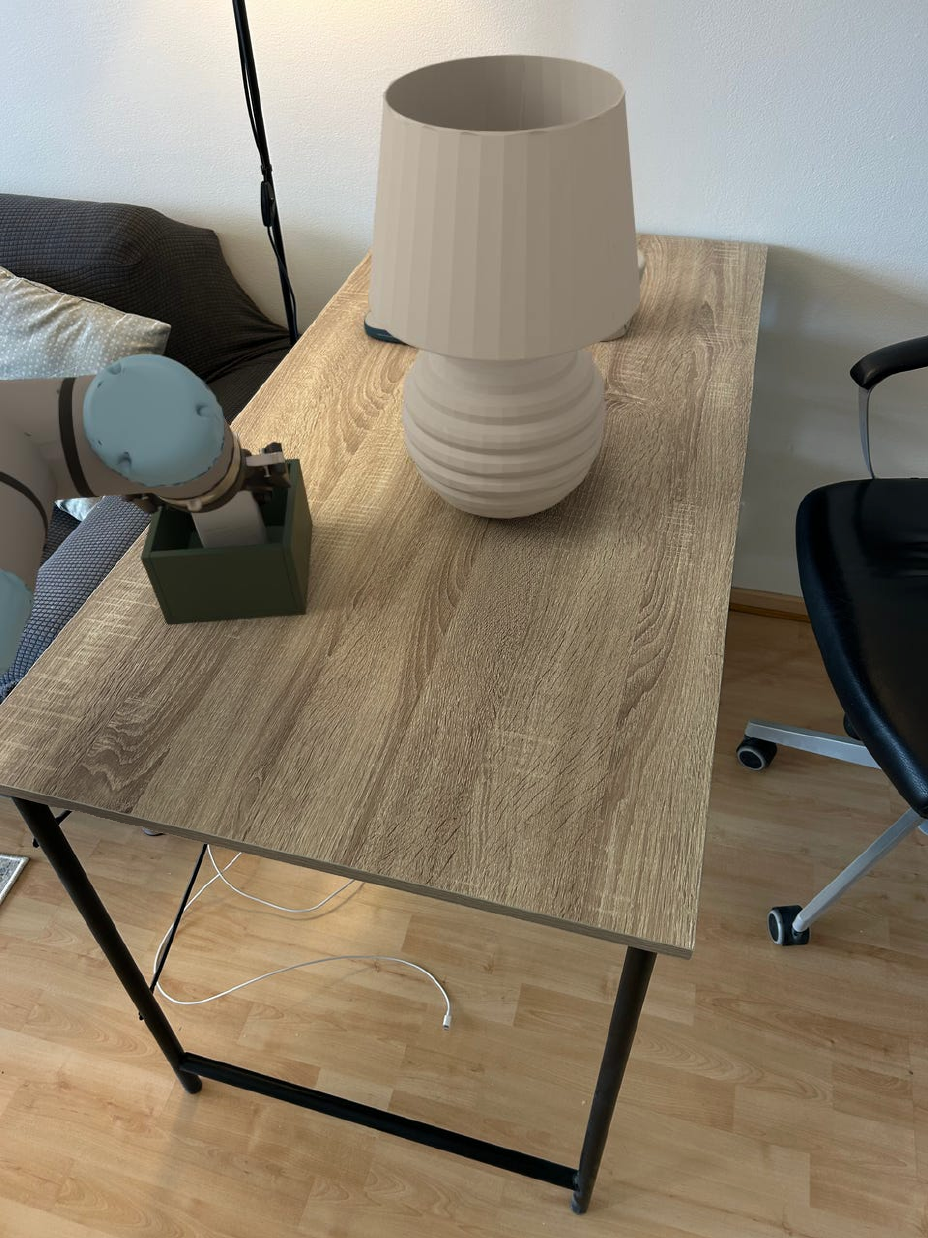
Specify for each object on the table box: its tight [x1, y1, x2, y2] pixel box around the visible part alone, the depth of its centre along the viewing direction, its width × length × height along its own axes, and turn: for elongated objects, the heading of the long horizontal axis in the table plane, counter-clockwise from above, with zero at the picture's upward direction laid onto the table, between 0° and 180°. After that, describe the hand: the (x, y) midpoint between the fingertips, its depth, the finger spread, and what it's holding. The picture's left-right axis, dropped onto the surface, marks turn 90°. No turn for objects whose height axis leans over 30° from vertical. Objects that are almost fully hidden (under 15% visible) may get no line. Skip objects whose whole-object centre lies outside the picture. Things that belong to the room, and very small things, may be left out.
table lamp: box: [367, 53, 641, 520], centre depth 86 cm, size 25×25×40 cm
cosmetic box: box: [191, 432, 268, 548], centre depth 86 cm, size 6×4×12 cm
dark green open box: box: [140, 458, 314, 625], centre depth 89 cm, size 14×14×9 cm
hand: (226, 497), depth 90 cm, fingers closed on cosmetic box, 6 cm apart
